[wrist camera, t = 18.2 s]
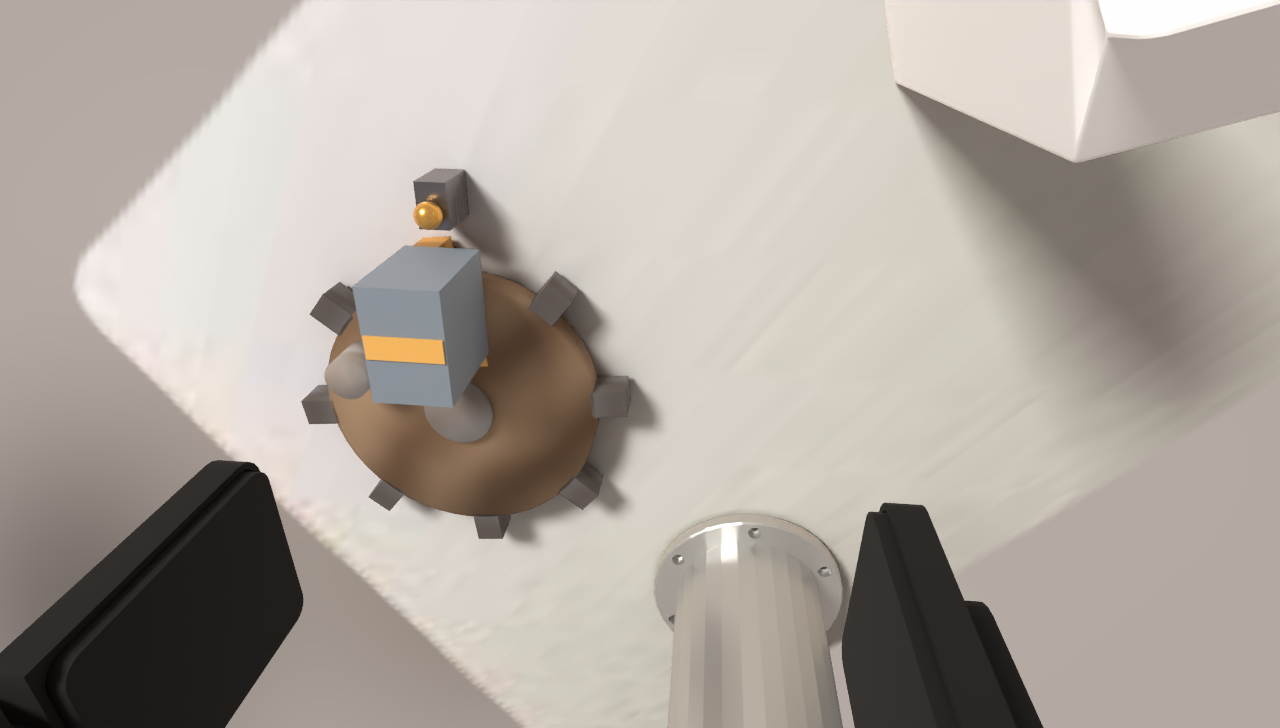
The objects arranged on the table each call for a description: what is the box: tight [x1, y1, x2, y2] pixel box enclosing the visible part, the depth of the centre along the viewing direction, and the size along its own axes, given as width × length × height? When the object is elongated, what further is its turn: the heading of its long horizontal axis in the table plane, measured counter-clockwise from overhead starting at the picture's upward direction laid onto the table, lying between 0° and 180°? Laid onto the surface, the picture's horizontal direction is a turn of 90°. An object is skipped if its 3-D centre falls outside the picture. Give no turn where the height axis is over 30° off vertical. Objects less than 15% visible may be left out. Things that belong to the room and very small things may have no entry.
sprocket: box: [301, 236, 631, 539], centre depth 41 cm, size 20×20×4 cm
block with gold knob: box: [413, 169, 469, 231], centre depth 36 cm, size 2×2×4 cm
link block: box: [352, 246, 489, 408], centre depth 35 cm, size 6×4×6 cm, turn 178°
